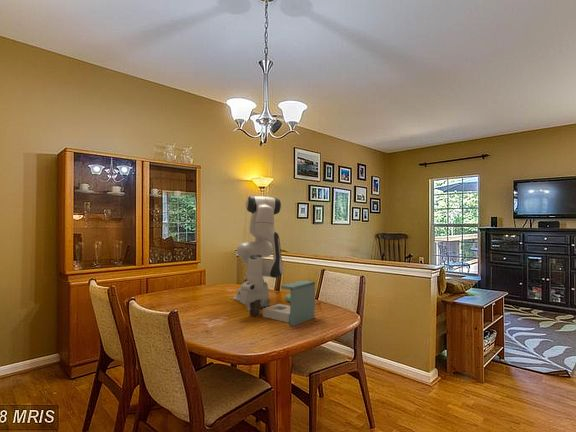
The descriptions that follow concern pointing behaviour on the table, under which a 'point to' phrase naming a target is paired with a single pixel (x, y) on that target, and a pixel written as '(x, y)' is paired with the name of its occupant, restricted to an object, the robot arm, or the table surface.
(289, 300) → the mint green bar
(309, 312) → the teal stepped panel
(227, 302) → the table surface
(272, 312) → the socket block
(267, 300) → the air freshener
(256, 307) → the peg
